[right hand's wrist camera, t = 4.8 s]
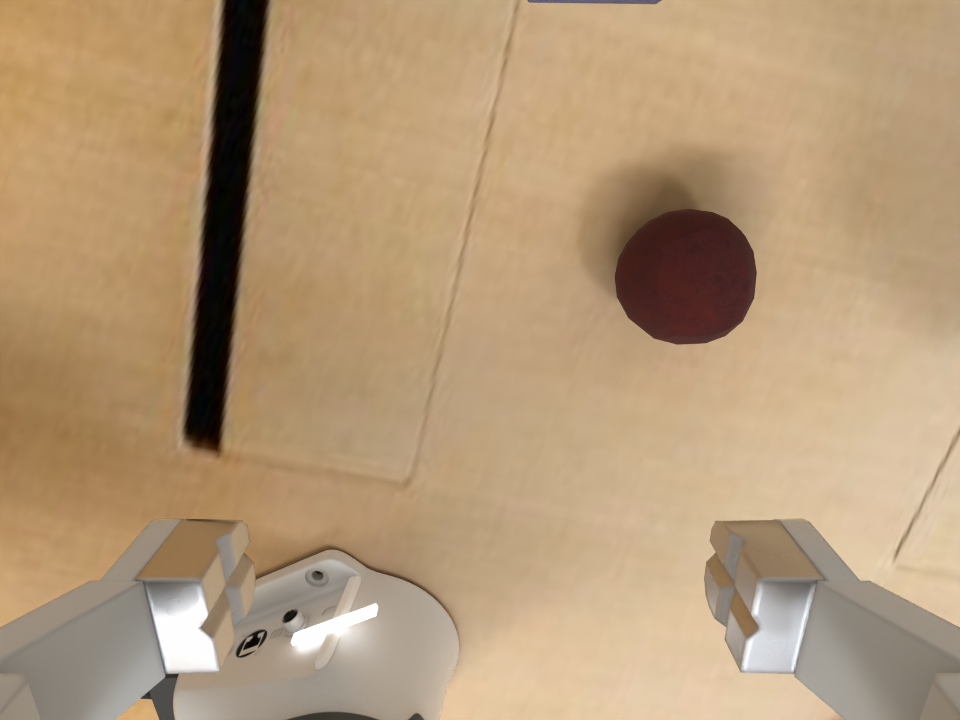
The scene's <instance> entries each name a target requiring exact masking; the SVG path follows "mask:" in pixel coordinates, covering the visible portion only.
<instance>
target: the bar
mask: <svg viewBox="0 0 960 720" xmlns="http://www.w3.org/2000/svg"><path fill="white" fill-rule="evenodd" d="M660 1H661V0H528V2H538V3H616V4H657V3H658V2H660Z"/></svg>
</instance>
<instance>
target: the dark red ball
mask: <svg viewBox="0 0 960 720" xmlns="http://www.w3.org/2000/svg"><path fill="white" fill-rule="evenodd" d="M756 273H757V272H756V266H755V259H754V253H753V250H752V248H751V246H750V244H749V242H748V241H747V239H746V237H745V235H744V234H743V233H742V232H741V230H739V229H738V228H737V227H736V226H735V225H734V224H733V223H732V222H731V221H730V220H729V219H727V218H725V217H722V216H720V215H718V214H715V213H713V212H707V211H699V210H690V209H686V210H679V211H672V212H667V213H665V214H663V215H661V216H659V217H657V218H655V219H653V220H651V221H649V222H648V223H647V224H646V225H644V226H643V227H642V228H641V229H640V230H638V231H637V232H636V233H635V235H634V236H633V237H632V238H631V239H630V241H629V242H628V243H627V244H626V246H625V248H624V250H623V251H622V253H621V255H620V257H619V260H618V264H617V268H616V273H615V282H616V291H617V298H618V299H619V301H620V303H621V305H622V307H623V309H624V311H625V312H626V314H627V316H628V318H629V319H630V320H632V321H633V322H634V323H635V324H637V325H638V326H639V327H640V328H642V329H643V330H644V331H645V332H647V333H648V334H649V335H650V336H652V337H653V338H654V339H658V340H662V341H666V342H670V343H673V344H700V343H707V342H710V341H713V340H716V339H718V338H721V337H724V336H726V335H727V334H728V333H729V332H731V331H732V330H733V329H734V328H735V327H736V326H738V325H739V324H740V323H741V322H742V321H743V320H744V317H745V315H746V313H747V311H748V309H749V307H750V305H751V303H752V301H753V299H754V294H755V283H756Z"/></svg>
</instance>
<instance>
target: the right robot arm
mask: <svg viewBox="0 0 960 720" xmlns="http://www.w3.org/2000/svg"><path fill="white" fill-rule="evenodd" d="M249 542H250V537H249V532H248V527H247V524H246V523H245V522H244V521H242V520H207V519H186V520H184V519H157V520H154V521H151V522H150V523H149V524H148V525H147V526H146V527H145V529H144V530H143V531H142V532H141V533H140V534H139V536H138V537H137V538H136V539H135V540H134V541H133V543H132V544H131V545H130V546H129V547H128V548H127V550H126V551H125V552H124V553H123V554H122V555H121V557H120V558H119V559H118V560H117V561H116V562H115V564H114V565H113V566H112V567H111V568H110V569H109V571H108V572H107V573H106V574H105V575H104V576H103V578H102V579H101V580H100V581H89V582H87V583H85V584H83V585H81V586H79V587H78V588H76V589H74V590H72V591H70V592H68V593H66V594H64V595H62V596H60V597H58V598H56V599H54V600H52V601H50V602H49V603H47V604H45V605H43V606H41V607H39V608H37V609H35V610H33V611H31V612H29V613H27V614H25V615H23V616H21V617H20V618H18V619H16V620H14V621H12V622H10V623H8V624H6V625H4V626H2V627H0V720H116V719H117V718H118V717H119V716H120V715H121V714H123V713H124V712H125V711H126V710H127V709H128V708H130V707H131V706H132V705H133V704H134V703H135V702H137V701H138V700H139V699H152V701H153V703H154V706H155V709H156V711H157V714H158V717H159V720H440V715H441V711H442V707H443V702H444V698H445V695H446V692H447V688H448V685H449V682H450V680H451V677H452V675H453V672H454V670H455V668H456V665H457V662H458V657H459V639H458V634H457V631H456V628H455V625H454V623H453V621H452V619H451V618H450V616H449V614H448V613H447V612H446V610H445V609H444V608H443V607H442V605H441V604H440V603H439V602H438V601H437V600H436V599H434V598H433V597H432V596H431V595H430V594H428V593H427V592H425V591H424V590H422V589H421V588H419V587H417V586H416V585H414V584H412V583H409V582H407V581H405V580H402V579H400V578H397V577H393V576H390V575H386V574H382V573H379V572H376V571H373V570H371V569H368V568H366V567H365V566H364V565H362V564H361V563H360V562H358V561H357V560H355V559H354V558H352V557H351V556H349V555H347V554H346V553H344V552H341V551H339V550H332V549H331V550H326V551H323V552H320V553H318V554H315V555H313V556H311V557H308V558H306V559H304V560H301V561H299V562H296V563H294V564H292V565H289V566H287V567H284V568H282V569H280V570H277V571H275V572H272V573H270V574H268V575H265V576H263V577H261V578H258V579H256V580H255V567H254V562H253V561H252V560H251V559H250V558H249V557H248V556H247V555H246V554H245V553H244V552H245V550H246V548H247V546H248V544H249ZM710 542H711V544H712V546H713V548H714V550H715V552H716V553H715V554H714V555H713V556H712V557H711V558H710V559H709V560H708V561H707V562H706V568H705V577H704V581H705V592H706V598H707V601H708V605H709V608H710V610H711V612H712V614H713V616H714V619H716V620H717V621H718V622H720V623H721V624H723V625H724V626H725V627H727V628H726V634H725V641H726V643H727V645H728V647H729V649H730V651H731V653H732V656H733V658H734V660H735V662H736V664H737V666H738V668H739V670H740V672H743V673H778V674H795V676H794V677H796V678H797V679H798V680H799V681H800V682H801V683H803V684H804V685H805V686H806V687H807V688H808V689H810V690H811V691H812V692H813V693H814V694H815V695H817V696H818V697H819V698H820V699H821V700H822V701H824V702H825V703H826V704H827V705H828V706H829V707H831V708H832V709H833V710H834V711H835V712H836V713H838V714H839V715H840V716H841V717H842V718H843V719H845V720H960V627H958V626H956V625H954V624H952V623H950V622H948V621H946V620H944V619H942V618H940V617H938V616H936V615H934V614H933V613H931V612H929V611H927V610H925V609H923V608H921V607H919V606H917V605H915V604H913V603H911V602H909V601H907V600H906V599H904V598H902V597H900V596H898V595H896V594H894V593H892V592H890V591H888V590H886V589H884V588H882V587H881V586H879V585H877V584H875V583H873V582H871V581H860V580H859V579H858V578H857V576H856V575H855V574H854V573H853V572H852V571H851V569H850V568H849V567H848V566H847V565H846V564H845V562H844V561H843V560H842V559H841V558H840V557H839V555H838V554H837V553H836V552H835V551H834V550H833V548H832V547H831V546H830V545H829V544H828V543H827V541H826V540H825V539H824V538H823V537H822V536H821V534H820V533H819V532H818V531H817V530H816V529H815V528H814V526H813V525H812V524H811V523H810V522H809V521H807V520H805V519H774V520H752V521H715V523H714V525H713V527H712V530H711V536H710ZM315 571H320V572H322V573H323V574H319V573H316V572H315Z"/></svg>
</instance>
